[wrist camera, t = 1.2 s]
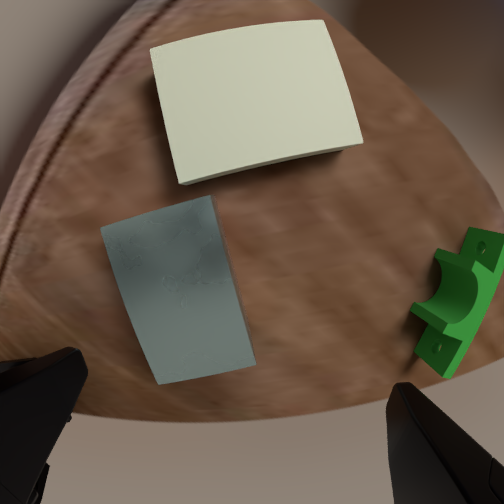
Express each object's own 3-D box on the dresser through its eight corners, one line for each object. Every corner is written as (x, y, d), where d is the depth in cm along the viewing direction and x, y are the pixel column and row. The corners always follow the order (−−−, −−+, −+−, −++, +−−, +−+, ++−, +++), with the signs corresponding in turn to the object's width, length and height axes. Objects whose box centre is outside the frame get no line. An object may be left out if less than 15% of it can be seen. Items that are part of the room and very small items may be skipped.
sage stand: (186, 185, 18) (178, 183, 15) (159, 68, 16) (149, 49, 13) (343, 149, 18) (363, 142, 15) (310, 40, 16) (322, 19, 13)
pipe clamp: (448, 212, 20) (489, 217, 15) (474, 231, 20) (513, 240, 16) (390, 344, 21) (421, 373, 17) (420, 353, 22) (451, 379, 17)
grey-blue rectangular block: (174, 333, 19) (158, 384, 14) (137, 217, 18) (100, 227, 12) (247, 316, 20) (256, 364, 14) (215, 194, 18) (209, 195, 12)
